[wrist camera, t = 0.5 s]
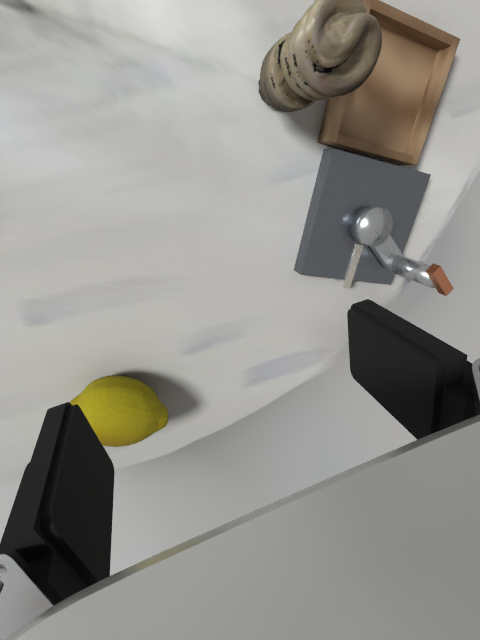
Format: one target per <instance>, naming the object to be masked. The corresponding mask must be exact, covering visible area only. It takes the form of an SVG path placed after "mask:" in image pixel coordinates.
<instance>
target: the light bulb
mask: <svg viewBox="0 0 480 640" xmlns="http://www.w3.org/2000/svg"><path fill="white" fill-rule="evenodd" d="M381 47H382V32H381V28H380V25H379V23H378V21H377V19H376V18H375V17H374V16H372V15H371V14H368V13H367V11H366V8H365V6H364V5H363V3H362V1H361V0H316V1H315V2H314V4H313V5H312V6H311V7H310V8H309V9H308V10H307V11H306V13H305V14H304V15H303V17H302V18H301V19H300V20H299V21H298V22H297V24H296V25H295V27H294V28H293V31H292V32H291V33H289V34H286V35H285V36H284V37H282V38H281V39H280V40H278V41H277V42H276V43H275V44H274V46H273V47H272V48H271V49H270V50H269V52H268V53H267V55H266V56H265V58H264V60H263V63H262V67H261V74H260V80H259V93H260V96H261V98H262V100H263V101H264V102H265V103H267V104H268V105H271V106H272V107H274V108H275V109H277V110H279V111H282V112H292V111H297V110H301V109H303V108H306V107H308V106H310V105H311V104H313V103H314V102H315V101H316V100H321V99H329V98H334V97H337V96H343V95H346V94H348V93H350V92H352V91H354V90H356V89H357V88H359V87H360V86H361V85H362V84H363V83H364V82H365V81H366V79H367V78H368V77H369V76H370V74H371V73H372V71H373V69H374V67H375V65H376V63H377V60H378V57H379V55H380V51H381Z"/></svg>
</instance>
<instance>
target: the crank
mask: <svg viewBox="0 0 480 640" xmlns="http://www.w3.org/2000/svg"><path fill="white" fill-rule="evenodd" d="M392 227H393V218H392V215H391V213H390V212H389V211H388V210H387V209H385V208H380V207H374V206H368V207H365V208H363V209H361V210H360V211H359V212H358V213H357V214H356V215H355V217H354V219H353V221H352V225H351V233H352V236H353V238H354V239H355V240H356V241H357V242H359V243H361V244H364V245H367V246H370V248H371V249H372V250H373V252H374V253H375V255H376V256H377V258H378V259H379V260H380V262H381V263H382V265H383V266H384V267H385V269H386V270H389V271H392V272H393V273H396V274H398V275H401V276H403V277H406V278H408V279H411V280H413V281H416V282H418V283H421V284H423V285H426V286H428V287H431V288H435V287H436V289H437V290H438V292H439V293H440V294H443V295H445V296H447V295H448V294H449V293H450V292H451V291H452V290H453V287H452V285H451V284H450V282H449V280H448V278H447V277H446V275H445V273H444V271H443V270H442V268H441V266H439V265H436V264H432V265H431V266H429V265H426V264H423V263H420V262H417V261H414V260H411V259H408V258H405V257H404V256H403V254H402V253H401V251H400V250H399V248H398V246H397V245H396V243H395V242H394V240H393V239H392V237H391V236H390V233H391V230H392Z"/></svg>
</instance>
